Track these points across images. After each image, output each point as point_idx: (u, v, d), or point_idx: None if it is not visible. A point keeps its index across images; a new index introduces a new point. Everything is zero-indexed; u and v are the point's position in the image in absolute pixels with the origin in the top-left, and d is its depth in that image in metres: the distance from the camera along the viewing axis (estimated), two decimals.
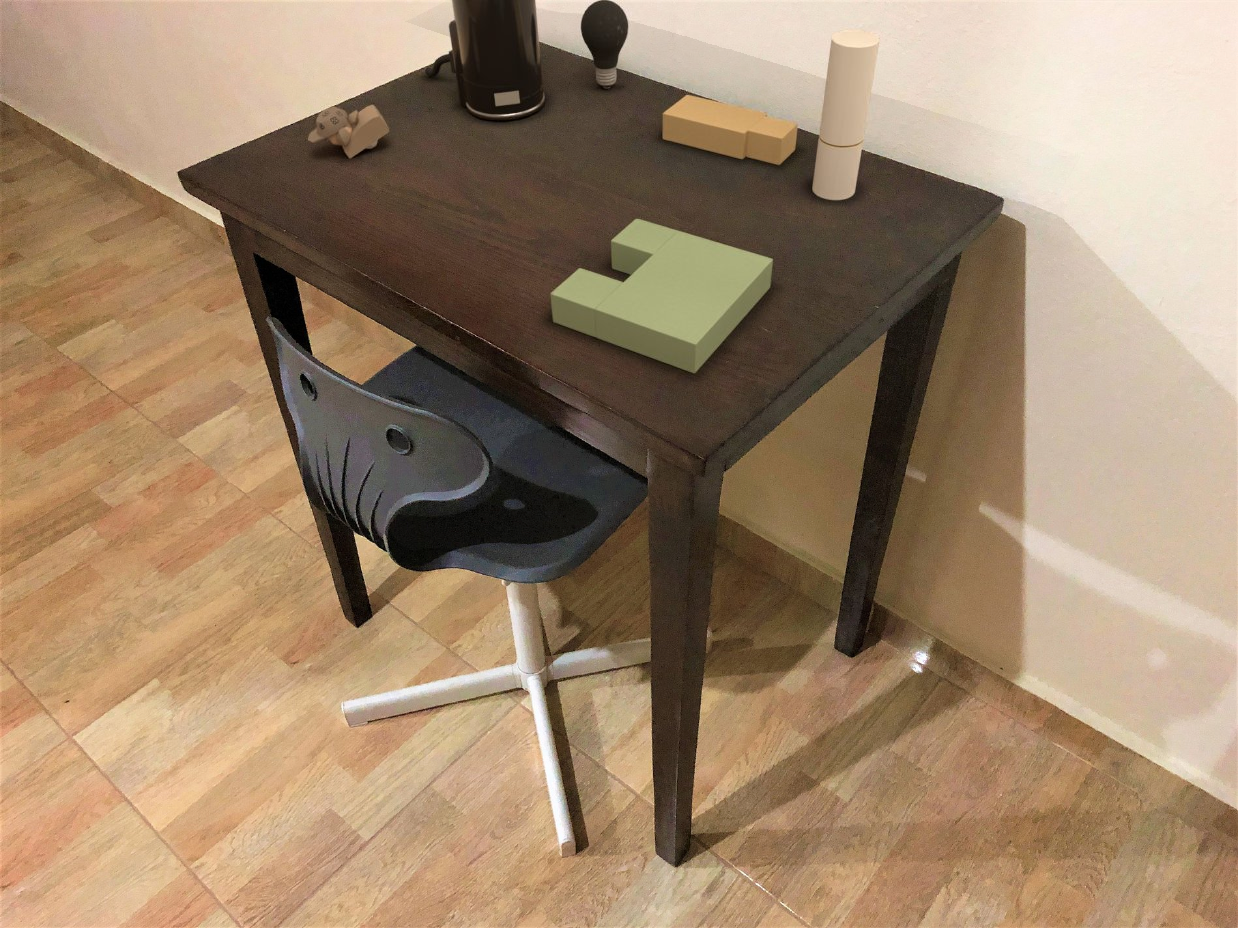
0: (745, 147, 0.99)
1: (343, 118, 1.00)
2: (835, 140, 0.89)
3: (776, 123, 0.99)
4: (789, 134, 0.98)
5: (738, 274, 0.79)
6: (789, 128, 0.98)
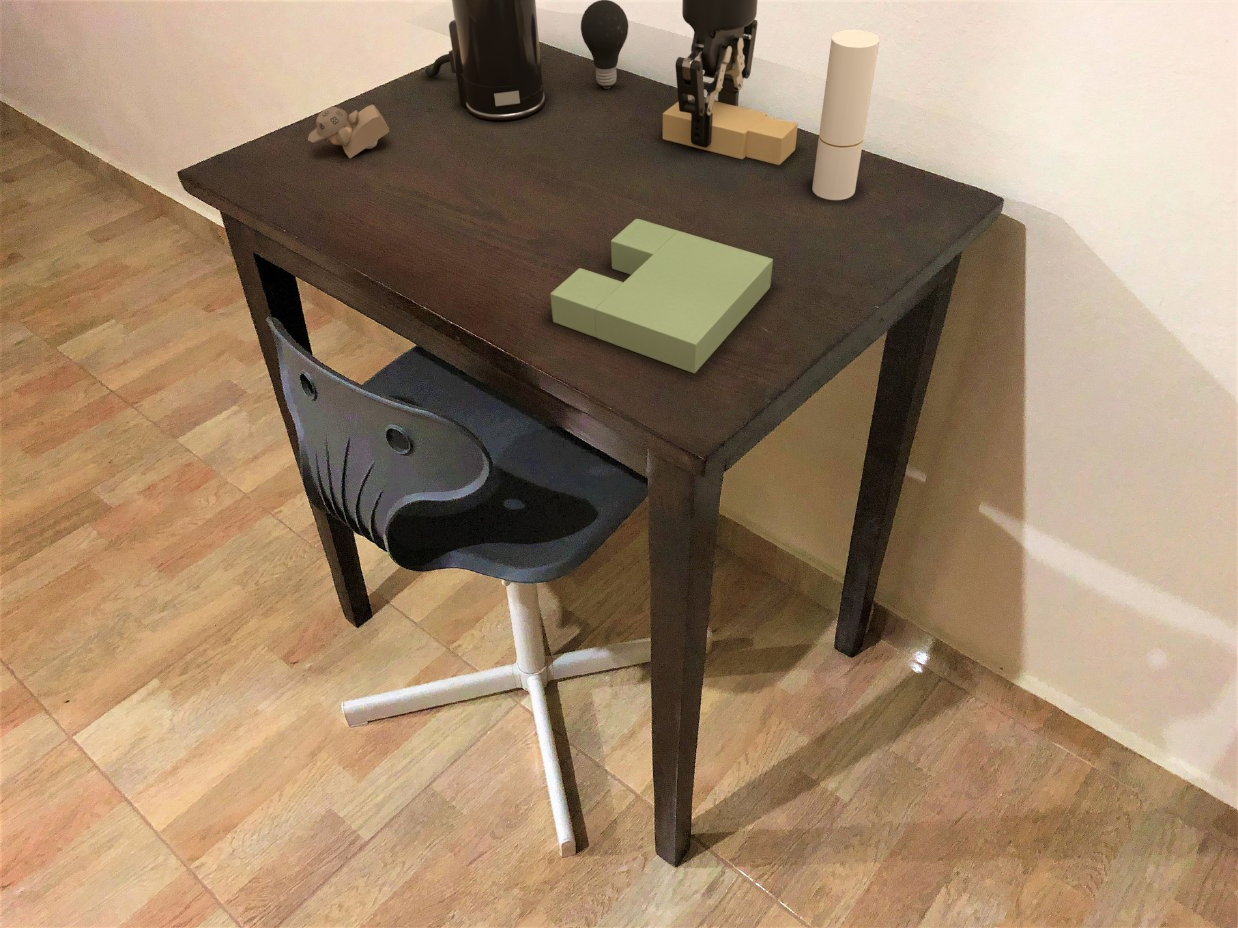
0: (745, 147, 1.00)
1: (343, 118, 1.00)
2: (835, 140, 0.89)
3: (776, 123, 0.99)
4: (789, 134, 0.98)
5: (738, 274, 0.79)
6: (789, 128, 0.98)
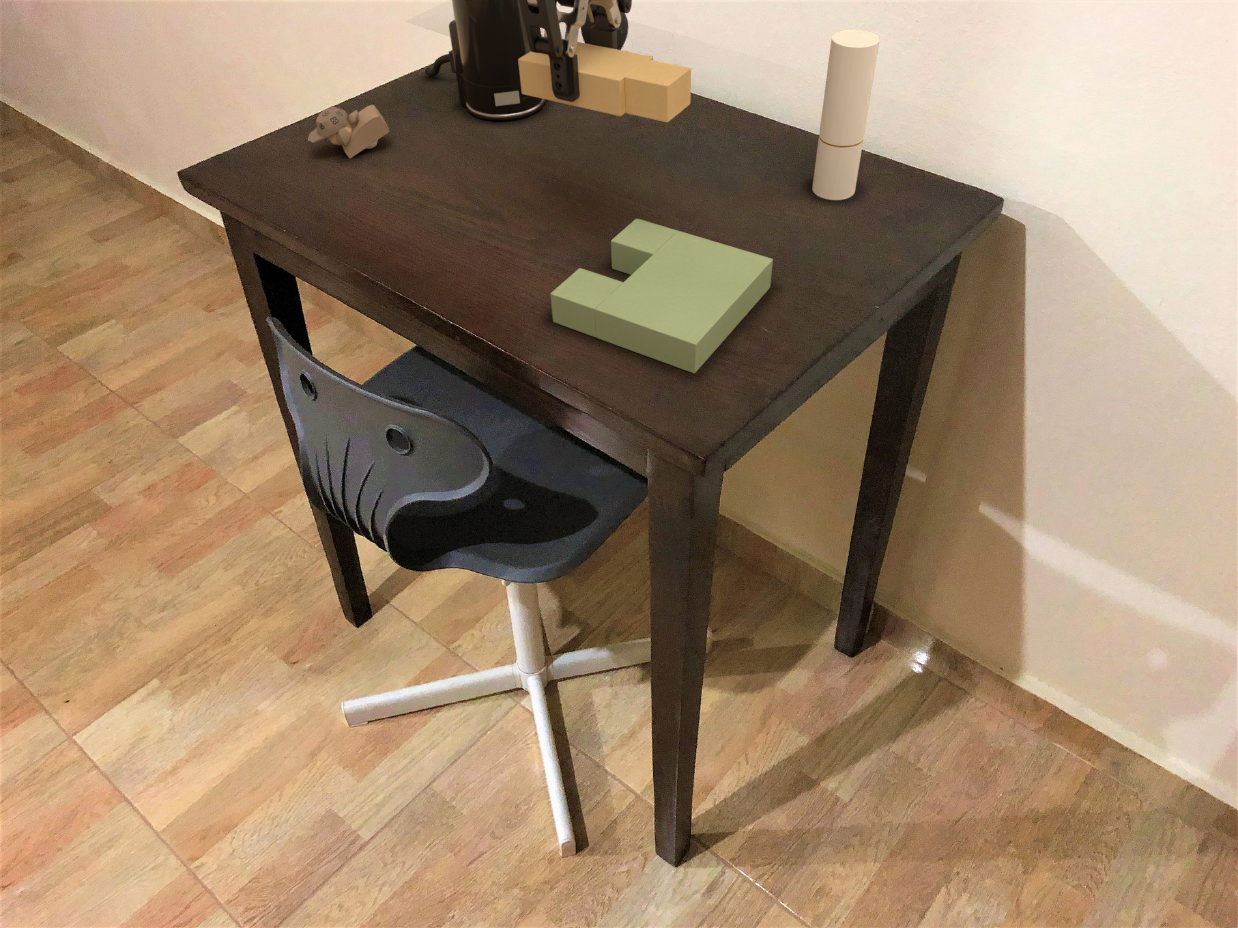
0: (622, 100, 0.76)
1: (343, 118, 1.00)
2: (835, 140, 0.89)
3: (663, 68, 0.76)
4: (678, 81, 0.75)
5: (738, 274, 0.79)
6: (679, 74, 0.75)
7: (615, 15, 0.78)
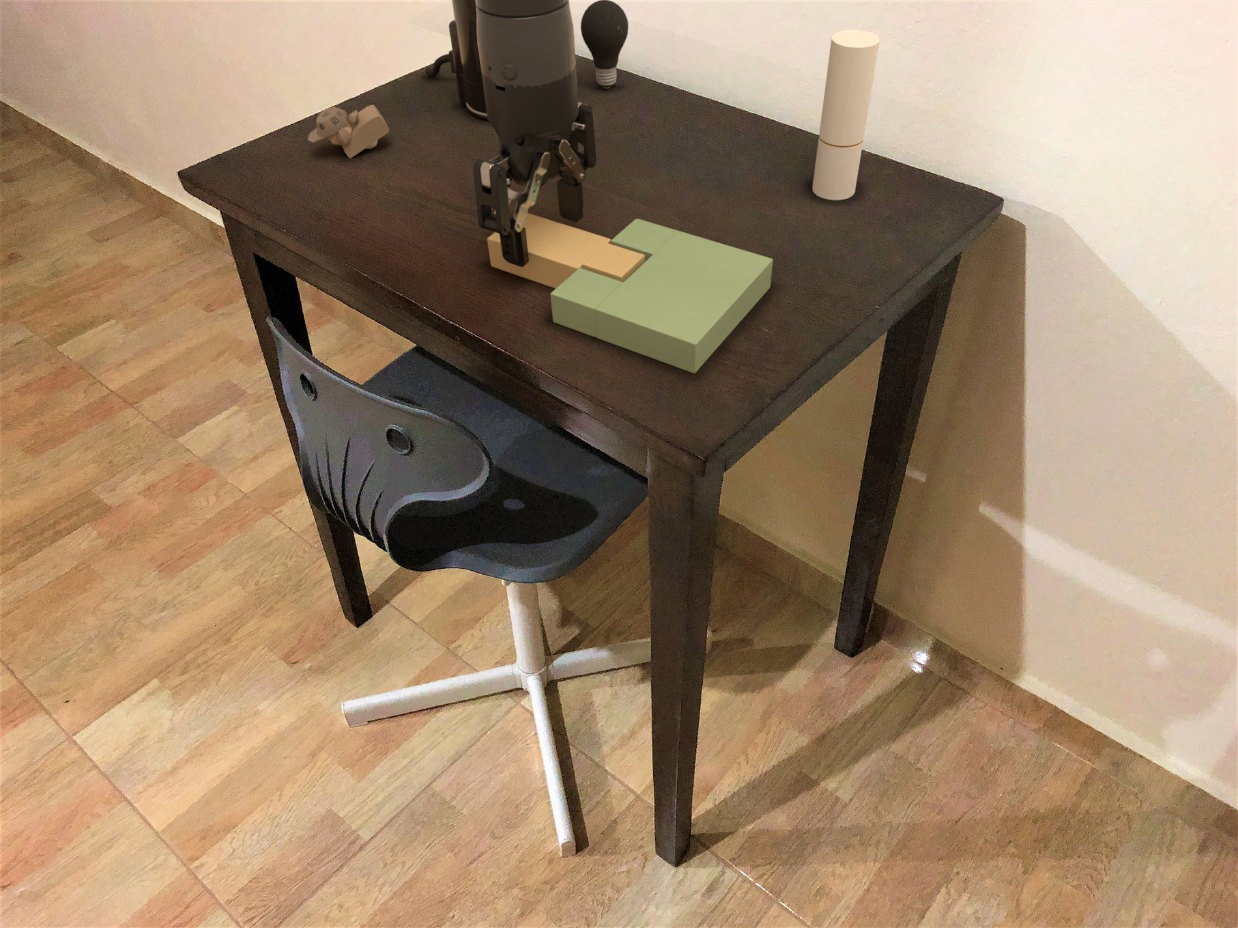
0: None
1: (343, 118, 1.00)
2: (835, 140, 0.89)
3: (619, 254, 0.82)
4: (631, 269, 0.81)
5: (738, 274, 0.79)
6: (633, 261, 0.81)
7: (580, 172, 0.83)
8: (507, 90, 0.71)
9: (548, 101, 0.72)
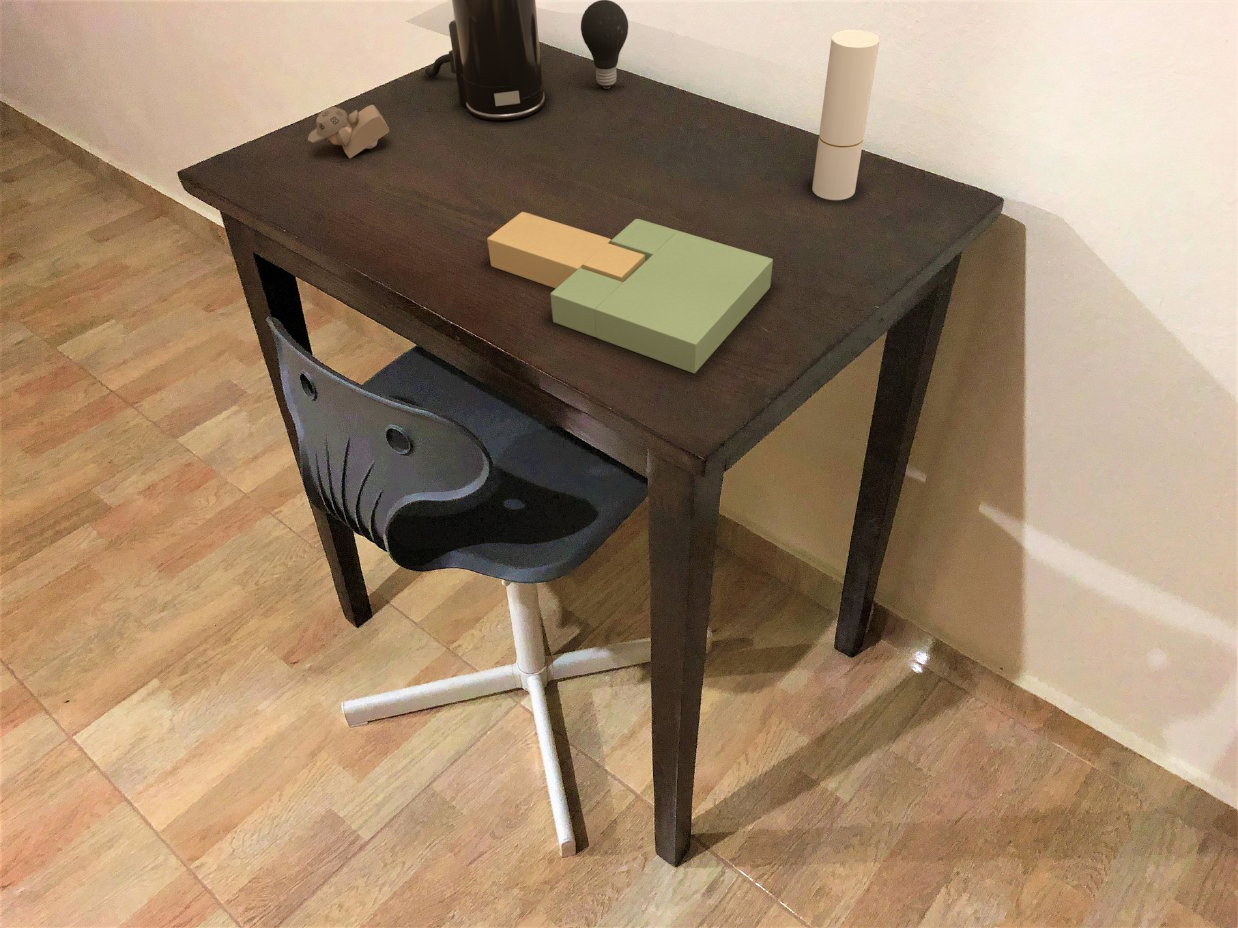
0: None
1: (343, 118, 1.00)
2: (835, 140, 0.89)
3: (619, 254, 0.82)
4: (631, 269, 0.81)
5: (738, 274, 0.79)
6: (633, 261, 0.81)
7: None
8: None
9: None
